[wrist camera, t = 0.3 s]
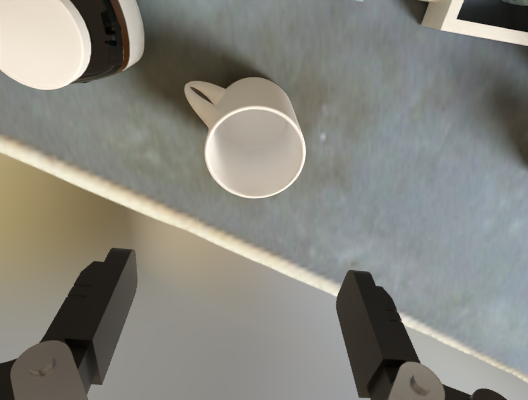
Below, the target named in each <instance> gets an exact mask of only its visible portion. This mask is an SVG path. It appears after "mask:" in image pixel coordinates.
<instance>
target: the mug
mask: <svg viewBox="0 0 528 400" xmlns="http://www.w3.org/2000/svg"><path fill="white" fill-rule="evenodd" d="M190 87H193V88H196V89H198V90H199V91H201V92H202V93H203V94H204V95H206V96H207V97H208V98H209V99H210V101H211V102H212V103H213V104H214V105H213V104H212V103H210V102H208V101H206V100H205V99H203V98H202V97H200V96H199V95H197V94H196V93H195V92H194V91H193V90H192V89H191V88H190ZM184 91H185V95H186V98H187V100H188V102H189V103H190V105H191V106H192V108H193V109H194V111H195V112H196V113H197V114H198V116H199V117H200V118H201V119H202V120H203V122H204V123H205V124H206V125H207V127H208V128H209V131H208V135H207V139H206V142H205V149H204V152H205V161H206V165H207V168H208V170H209V172H210V174H211V175H212V177H213V178H214V179H215V180H216V182H217V183H218V184H219V185H220V186H222V187H223V188H224V189H226V190H227V191H229V192H231V193H233V194H236V195H238V196H242V197H247V198H263V197H268V196H272V195H274V194H277V193H279V192H281V191H283V190H284V189H286V188H287V187H288V186H290V185H291V184H292V183H293V182H294V180H295V179H296V178H297V177H298V175H299V173H300V172H301V170H302V167H303V165H304V161H305V155H306V148H305V142H304V138H303V135H302V132H301V130H300V127H299V124H298V121H297V118H296V115H295V113H294V110H293V107H292V104H291V102H290V100H289V98H288V96H287V95H286V93H285V92H284V91H283V90H282V89H281V88H280V87H279V86H278V85H277V84H275V83H273V82H271V81H270V80H267V79H264V78H259V77H248V78H244V79H241V80H238V81H236V82H234V83H233V84H231V85H230V86H229V87H227V88H226V89H224V88H222V87H219V86H217V85H214V84H211V83H208V82H203V81H191V82H189V83H187V84H186V85H185V88H184Z"/></svg>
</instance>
